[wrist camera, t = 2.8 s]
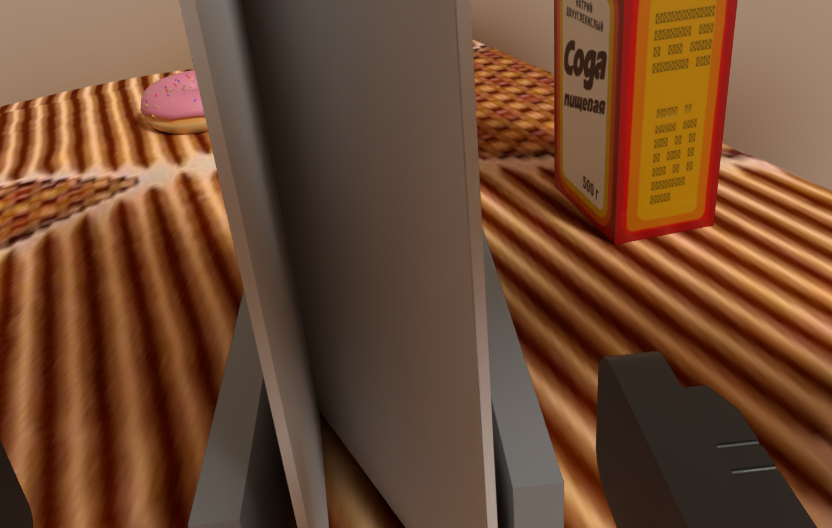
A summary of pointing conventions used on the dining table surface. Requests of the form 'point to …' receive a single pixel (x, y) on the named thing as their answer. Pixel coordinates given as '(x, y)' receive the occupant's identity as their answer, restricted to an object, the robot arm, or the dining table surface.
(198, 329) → the dining table surface
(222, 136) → the brochure
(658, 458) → the robot arm
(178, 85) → the doughnut
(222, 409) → the rack
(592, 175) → the baking soda box
